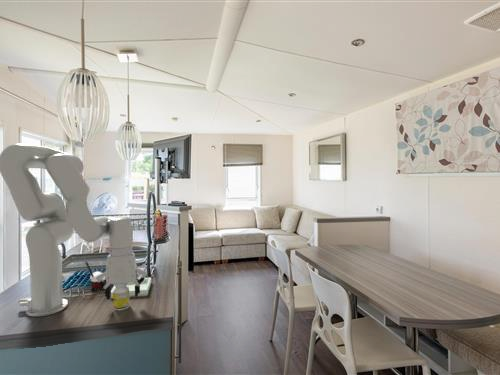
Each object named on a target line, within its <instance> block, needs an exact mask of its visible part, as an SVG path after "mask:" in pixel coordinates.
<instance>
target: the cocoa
mask: <svg viewBox="0 0 500 375" xmlns="http://www.w3.org/2000/svg"><path fill="white" fill-rule="evenodd" d="M85 265H86V267H87V270H88V273H89V275H90V280H89V282H90V285H91V288H92V289H94V288H96V290H98V289H97V288H100V289H102V288H103V287H102V286H101V285H100V284H99V282H98V281H97V279H96V277H97V276H98V275H100V274H102V273H103V272H100V271H94V272H92V269H91V267H90V265H89V263H88V261H85ZM102 279H103V280H104V281H105V282H106V276H104V277H103V278H102Z"/></svg>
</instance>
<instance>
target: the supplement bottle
mask: <svg viewBox="0 0 500 375" xmlns="http://www.w3.org/2000/svg"><path fill="white" fill-rule="evenodd" d="M114 285H115V288H114V290H113V298H112V300H113V301H112V302H113V309H114V310H115V311H124V310H126V309H128V308H129V307H130V297H129V287H128V286H126V285H127V283H122V284H114Z"/></svg>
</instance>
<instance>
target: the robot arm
mask: <svg viewBox="0 0 500 375" xmlns="http://www.w3.org/2000/svg"><path fill="white" fill-rule="evenodd" d="M29 169H43V170H46V172H47V173H48V175H49V176H50V178H51V179H52V181H53V183H54V184H55V186H56V188H57V189H58V191H59V192H60V193H61V195H62V197H63V198H64V200H65V204H64V202H63V200H62V199H61V197H59V196H58V195H57V194H55V193H52V192H43V191H42V189H41V187H40V185H39V182H38V180H37V179H36V177H35V176H34V175H33V173H31V171H30V170H29ZM83 171H84V162H83V160H81V158H80V157H78V155H77V156H76V155H75V154H71V153H68V152H65V151H61V150H57V149H54V148H51V147H48V146H45V145H38V144H30V143H13V144H10V145H8V146H6V147H5V148H4V149H3V150H2V151H1V153H0V174H1V177H2V179H3V180H4V182H5V184H6V186H7V189H8V190H9V193H10V195H11V197H12V200H13V201H14V204H15V206H16V209H17V211H18V213H19V215H20V217H21V218H22V219H23V220H24V221H29V222H34V221H40V220H42V222H40V223H38V224H37V223H36V224H35V225H33V226H31V227H30V229H28V231H27V233H26V235H25V243H26V244H25V245H26V248H27V251H28V258H29V259H28V260H29V261H28V262H29V276H30V277H29V281H30V282H29V283H30V297H27V298H23V297H22V298H20V299H18V306H19V307H26V308H25V314H26V316H28V317H45V316H50V315H53V314H56V313H59V312H61V311H62V310H64V309H66V308H67V306H68V304H69V303H68V299H65V298H63V297H64V296H63V294H64V293H63V291H64V290H63V259H62V254H61V251H60V249H59V245H61V244H63V243H65V242H68V241H69V240H70V239H71V238H72V237H73V234H74V231H75V233H76V234H77V236H78V237H79V238H80V239H81V240H83V241H84V242H88V243H93V242H96V241H99V240H100V239H102V238H105V237H107V236H108V238H109V240H108V242H109V248H105V253H108V254H109V255H107V258H106V263H105V264H106V265H105V271H104V272H101V273H102V274H100V275H98V276H97V277H96V279H97V281H98V282H99V284H100V285H101V286H102V288H103V289H104V296H105V297H106V300H107V301H108V300H110V297H111V290H112V288H111V285H115V284H122V283H131V282H133V283H134V284H135V297H136V298H137V296H138V294H139V293H140V284H141V283H142V282H143V281H144V279H145V278H147V277H146V276H147V275H148V272H147V271H145V270H144V269H140V268H138V267H137V259H136V255H135V252H133V236H132V233H133V232H132V219H131V218H130V217H127V216H118V217H113V216H104V215H103V216H98V217H94V216H93V215H92V213H91V211H90V209H89V206H88V202H87V199H88V195H89V193H90V187H89V185H88V184H87V182H86V180H85V179H84V177H83V176H82V173H83ZM138 274H139V275H140V276H141V277H139V278H140V279H138ZM104 276H106V282H105V281H104V280H103V279H102V278H103V277H104ZM138 297H139V296H138Z"/></svg>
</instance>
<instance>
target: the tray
mask: <svg viewBox="0 0 500 375" xmlns="http://www.w3.org/2000/svg"><path fill="white" fill-rule="evenodd" d="M137 278H138V277H137ZM140 278H141V277H139V278H138V279H140ZM151 285H152V277H145V279H144V281H143V282H142V283H141V284H140V293H139V294H138V296H137V297H147V296H148V295H149V292H150V288H151ZM126 286H128V287H129V298H133V297H135V284H134V283H133V282H131V283H127V285H126ZM114 288H115V284H113V287H112V288H111V297H110V299H113V290H114ZM137 297H136V298H137ZM110 299H109V300H110Z"/></svg>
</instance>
